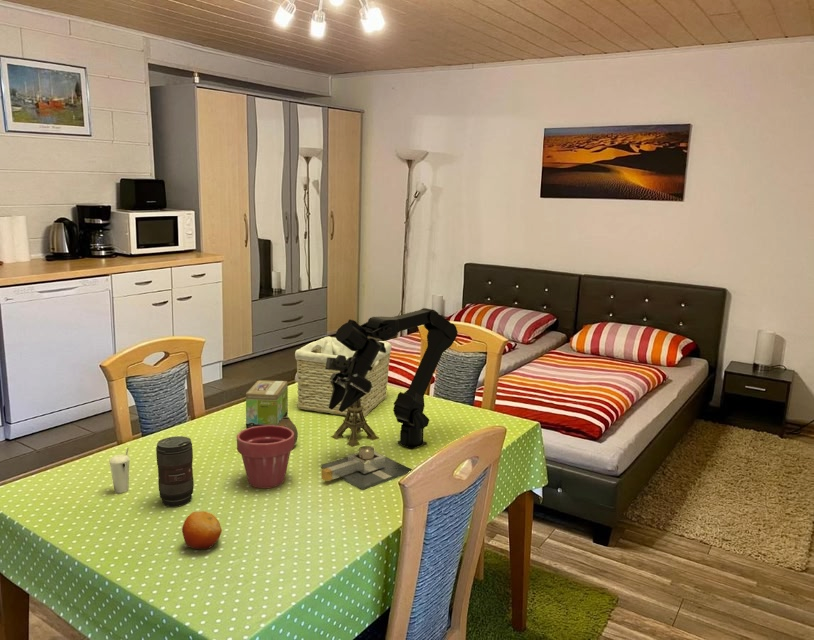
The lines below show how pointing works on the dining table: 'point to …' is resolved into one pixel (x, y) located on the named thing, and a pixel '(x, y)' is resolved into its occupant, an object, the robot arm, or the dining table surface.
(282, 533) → the dining table surface
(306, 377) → the basket
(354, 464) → the square nut with handle
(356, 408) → the eiffel tower
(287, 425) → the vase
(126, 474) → the milkshake
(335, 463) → the post base
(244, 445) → the plant pot
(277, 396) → the tea box
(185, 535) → the fruit
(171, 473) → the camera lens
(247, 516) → the dining table surface
